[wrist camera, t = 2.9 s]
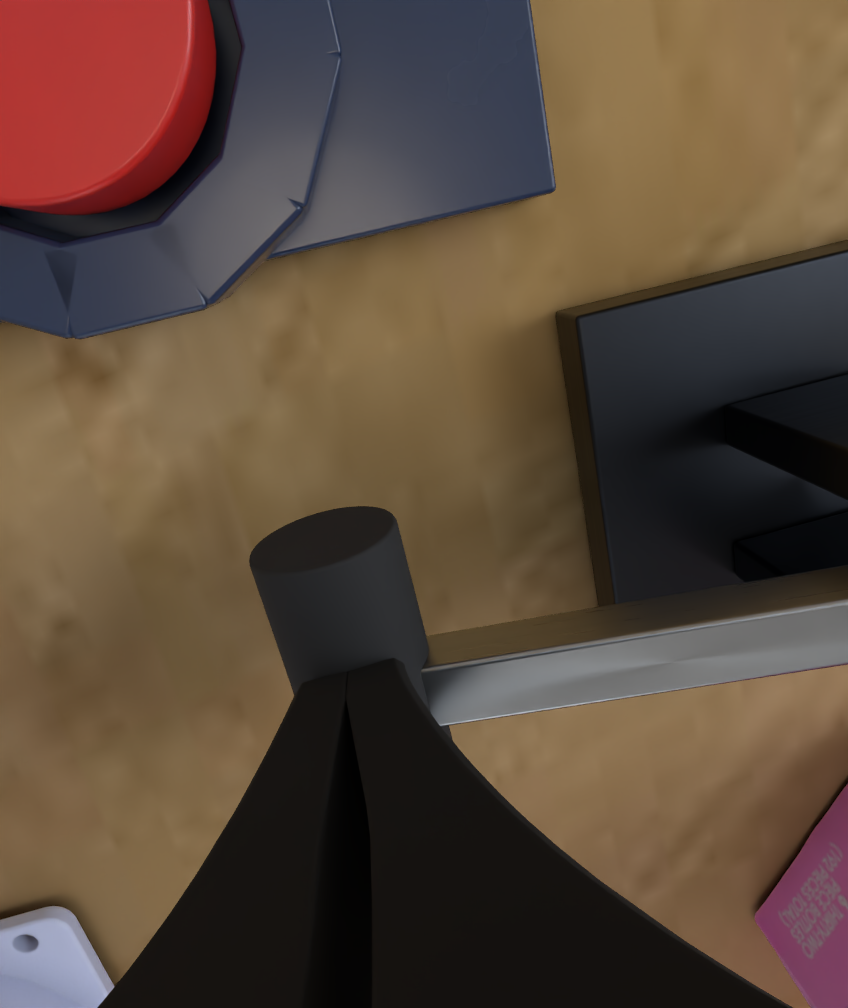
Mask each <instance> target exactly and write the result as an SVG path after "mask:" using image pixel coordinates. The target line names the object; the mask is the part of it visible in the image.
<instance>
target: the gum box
mask: <svg viewBox="0 0 848 1008" xmlns="http://www.w3.org/2000/svg"><path fill="white" fill-rule="evenodd" d="M755 922H756V923H757V924H758V926H759V927H760V929H761V930H762V931H763V933H764V934H765V936H766V938H767V940H768V941H769V943H770V944H771V945H772V947H773V948H774V949H775V951H776V953H777V954H778V956H779V958H780V960H781V961H782V963H783V965H784V966H785V968H786V970H787V971H788V973H789V974H790V976H791V978H792V979H793V981H794V982H795V984H796V985H797V987H798V988H799V990H800V991H801V993H802V994H803V996H804V997H805V999H806V1001H807V1002H808V1004H809V1005H810V1007H811V1008H848V784H847V785H846V786H845V788H844V789H843V790H842V791H841V793H840V794H839V796H838V797H837V799H836V800H835V801H834V803H833V804H832V806H831V807H830V809H829V810H828V811H827V813H826V814H825V815H824V817H823V818H822V819H821V821H820V822H819V823H818V825H817V826H816V827H815V829H814V830H813V831H812V833H811V835H810V836H809V838H808V840H807V841H806V843H805V845H804V846H803V848H802V849H801V851H800V853H799V854H798V856H797V857H796V859H795V860H794V861H793V863H792V864H791V866H790V867H789V868H788V870H787V871H786V873H785V874H784V875H783V877H782V878H781V880H780V881H779V883H778V884H777V885H776V887H775V888H774V890H773V891H772V893H771V894H770V895H769V897H768V898H767V900H766V901H765V902H764V903H763V905H762V906H761V907H760V909H759V910H758V911H757V912H756V914H755Z"/></svg>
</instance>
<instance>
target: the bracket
mask: <svg viewBox="0 0 848 1008" xmlns="http://www.w3.org/2000/svg"><path fill="white" fill-rule="evenodd" d="M556 322H557V329H558V335H559V342H560V349H561V355H562V362H563V369H564V376H565V382H566V389H567V396H568V403H569V409H570V416H571V423H572V430H573V436H574V443H575V450H576V457H577V463H578V470H579V477H580V483H581V490H582V497H583V504H584V510H585V517H586V524H587V531H588V537H589V544H590V551H591V558H592V564H593V571H594V578H595V585H596V591H597V598H598V605H599V607H601V606H607V605H613V604H619V603H625V602H631V601H637V600H643V599H649V598H655V597H661V596H667V595H673V594H679V593H684V592H690V591H696V590H702V589H708V588H714V587H720V586H726V585H732V584H738V583H744V582H750V581H756V580H762V579H768V578H773V577H779V576H785V575H791V574H797V573H803V572H809V571H815V570H821V569H827V568H833V567H839V566H845V565H848V240H845V241H841V242H837V243H833V244H829V245H825V246H821V247H817V248H812V249H808V250H804V251H800V252H796V253H792V254H788V255H784V256H780V257H776V258H772V259H768V260H764V261H760V262H755V263H751V264H747V265H743V266H739V267H735V268H731V269H727V270H723V271H719V272H715V273H711V274H707V275H703V276H698V277H694V278H690V279H686V280H682V281H678V282H674V283H670V284H666V285H662V286H658V287H654V288H650V289H646V290H641V291H637V292H633V293H629V294H625V295H621V296H617V297H613V298H609V299H605V300H601V301H597V302H593V303H589V304H584V305H580V306H576V307H572V308H568V309H564V310H560V311H558V312H557V313H556Z"/></svg>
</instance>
